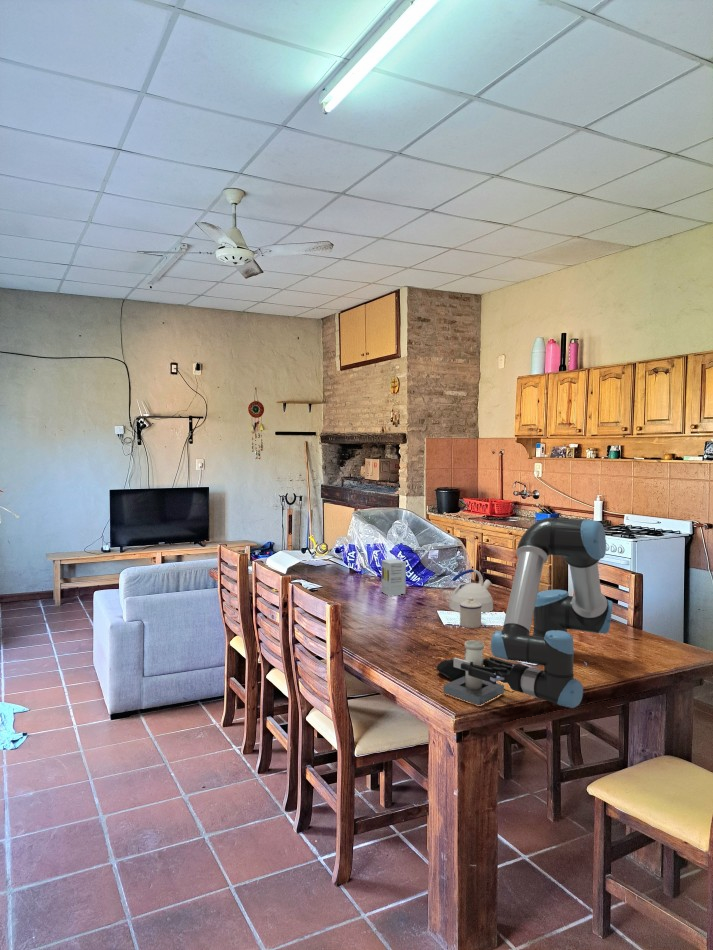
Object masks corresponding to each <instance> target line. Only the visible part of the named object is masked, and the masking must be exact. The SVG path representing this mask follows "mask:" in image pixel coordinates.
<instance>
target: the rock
mask: <svg viewBox="0 0 713 950" xmlns="http://www.w3.org/2000/svg"><path fill="white" fill-rule="evenodd" d="M436 671H437V672H438V673H440V674H441V675H444V676H445V677H447V679H448V678H449V679H448V680H450V679H451V680H452V681H454V680H457V679H459V678H461V677H464V676H466V671H465V670H462V669H459V668H456V667H454V658H451V659H447V660H446V659H445V660H443V661H442V660H441V662H439V663H438V665H437V666H436ZM451 680H450V681H451ZM452 681H451V682H452Z"/></svg>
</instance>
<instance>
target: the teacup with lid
mask: <svg viewBox="0 0 713 950" xmlns="http://www.w3.org/2000/svg"><path fill="white" fill-rule="evenodd" d="M481 607H482V605H481V603H479V602H476V601H475V600H473V598H471V597H470V598H468V600H466V601H464V602H461V603H460V612H459V625H460V626H461V627H463V628H467V629H477V628H480V627H481V626H482V613H481Z"/></svg>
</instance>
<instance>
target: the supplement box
mask: <svg viewBox="0 0 713 950" xmlns="http://www.w3.org/2000/svg"><path fill="white" fill-rule="evenodd" d="M406 566H407V562H406V561H403V560H401V559H398V558H391V559H390V558H389V559H381V584H380V585H381V587H380V589H381V590H380V591H381V592H383V593H385V594H387V595H389V596H391V597H393V596H392V595H400V596H402V595H401V594H405V595H406V587H407V585H406V584H407V583H406V582H407V581H406V580H407V579H406V577H407V576H406V571H407V567H406ZM383 593H382V594H383ZM385 594H384V595H385ZM387 595H386V596H387ZM389 596H388V597H389Z"/></svg>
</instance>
